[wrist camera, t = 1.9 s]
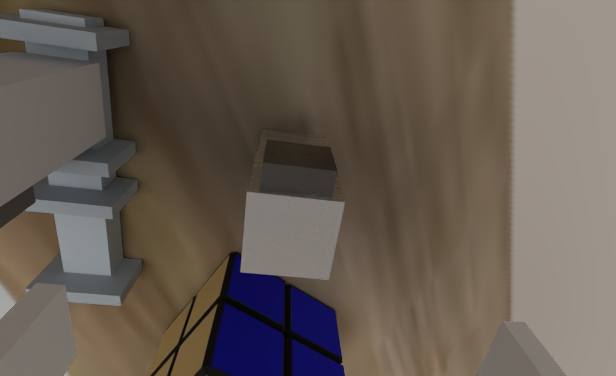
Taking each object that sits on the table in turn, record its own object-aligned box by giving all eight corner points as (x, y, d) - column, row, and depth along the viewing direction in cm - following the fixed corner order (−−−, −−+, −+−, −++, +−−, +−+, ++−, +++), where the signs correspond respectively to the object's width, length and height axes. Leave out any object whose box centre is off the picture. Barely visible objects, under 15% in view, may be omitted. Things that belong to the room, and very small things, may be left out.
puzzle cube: (337, 310, 29) (358, 440, 20) (265, 379, 33) (255, 519, 23) (232, 248, 26) (202, 368, 17) (164, 330, 30) (108, 469, 21)
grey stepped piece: (18, 5, 19) (-273, -5, 9) (128, 21, 20) (-35, 28, 10) (64, 277, 27) (-69, 431, 17) (143, 283, 27) (59, 437, 17)
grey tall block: (264, 109, 22) (249, 163, 14) (328, 118, 23) (350, 175, 14) (257, 186, 24) (240, 272, 16) (316, 193, 25) (328, 279, 17)
